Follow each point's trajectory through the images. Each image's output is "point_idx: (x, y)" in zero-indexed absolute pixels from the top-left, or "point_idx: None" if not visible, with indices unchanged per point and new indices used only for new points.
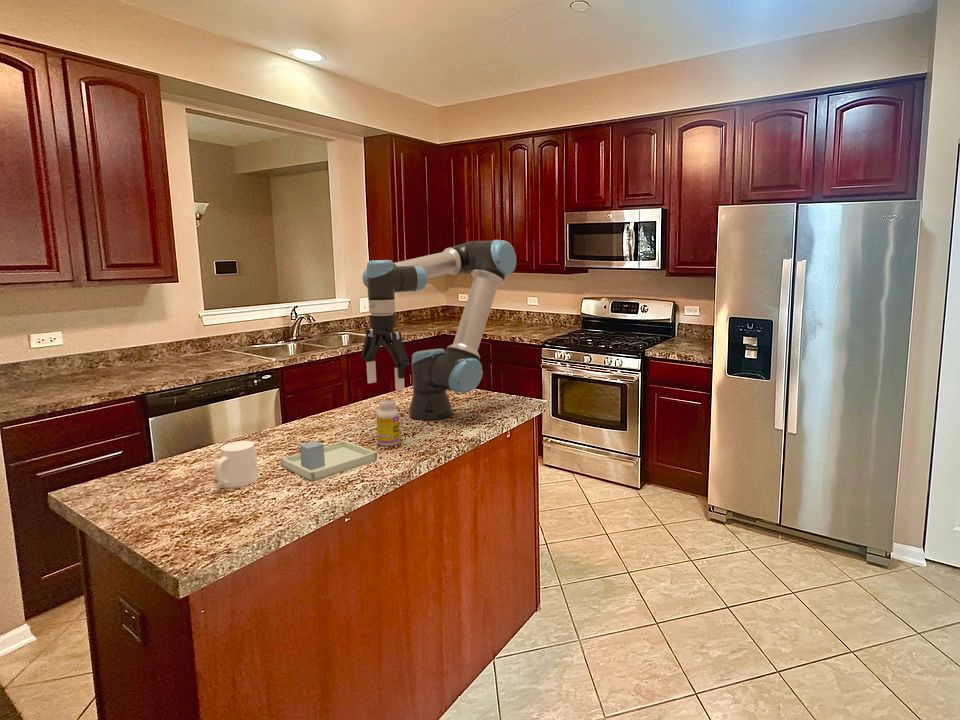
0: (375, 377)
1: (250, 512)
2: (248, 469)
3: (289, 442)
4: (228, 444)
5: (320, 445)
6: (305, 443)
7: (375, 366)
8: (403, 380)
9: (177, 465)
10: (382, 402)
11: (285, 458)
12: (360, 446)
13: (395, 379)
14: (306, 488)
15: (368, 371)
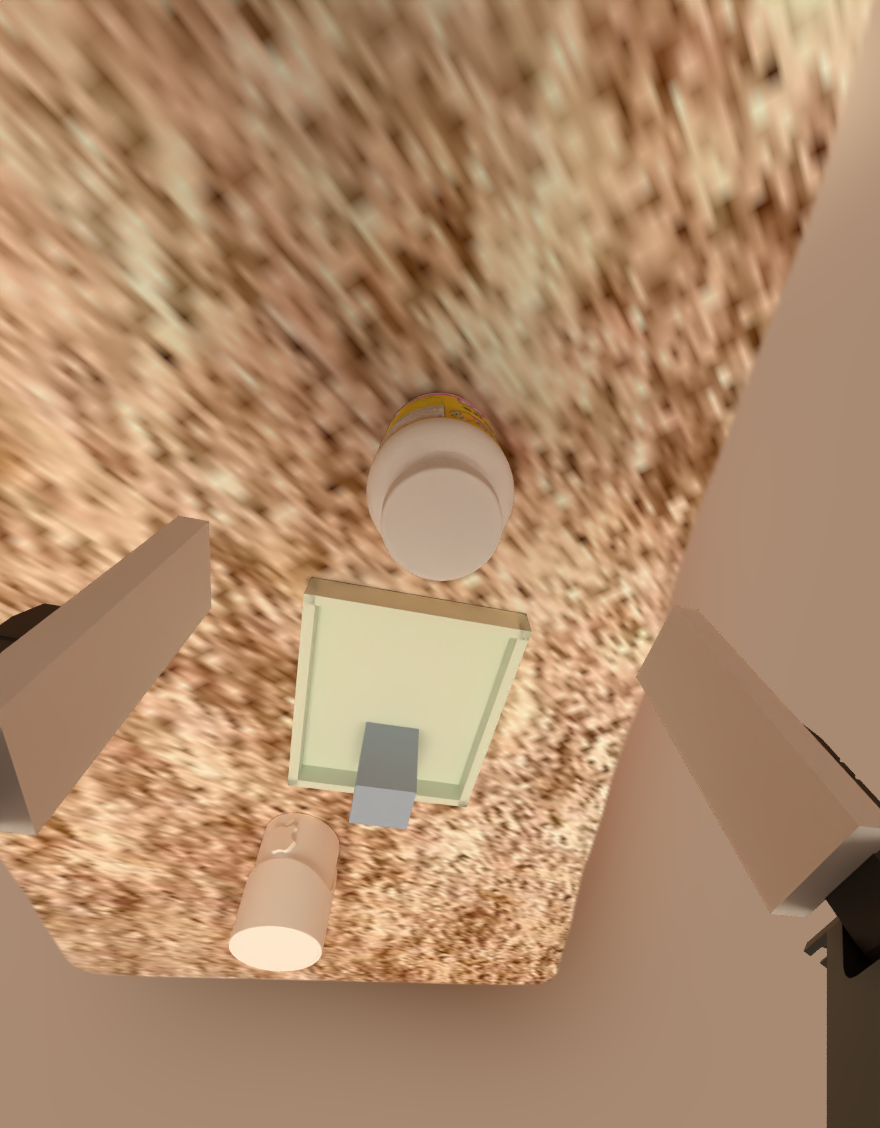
0: (183, 556)
1: (473, 895)
2: (331, 881)
3: None
4: (240, 952)
5: (414, 799)
6: (352, 809)
7: (80, 636)
8: (742, 672)
9: (62, 854)
10: (419, 553)
11: (297, 778)
12: (425, 614)
13: (690, 760)
14: (485, 809)
15: (136, 704)
